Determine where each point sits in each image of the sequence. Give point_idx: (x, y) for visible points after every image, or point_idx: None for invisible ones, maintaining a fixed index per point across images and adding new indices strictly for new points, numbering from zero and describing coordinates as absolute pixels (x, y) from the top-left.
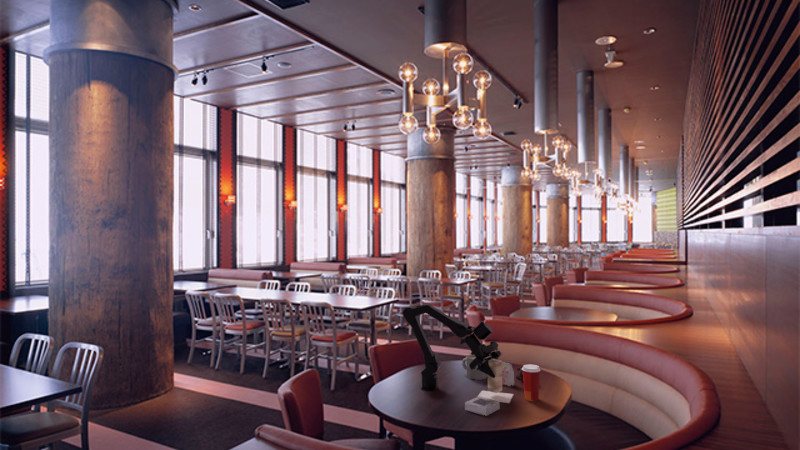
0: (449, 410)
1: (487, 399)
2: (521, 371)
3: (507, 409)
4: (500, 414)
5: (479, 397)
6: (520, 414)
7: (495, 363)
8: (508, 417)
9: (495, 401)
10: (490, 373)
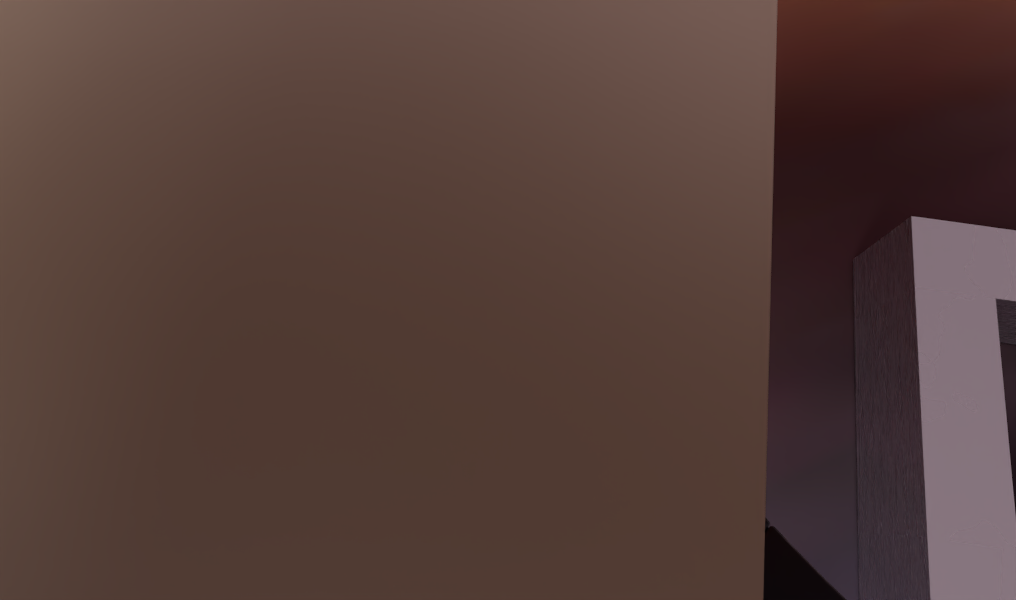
0: None
1: (969, 408)
2: None
3: (799, 174)
4: (1003, 184)
5: (983, 584)
6: (841, 15)
7: (748, 97)
8: (1013, 84)
9: (951, 264)
10: None
